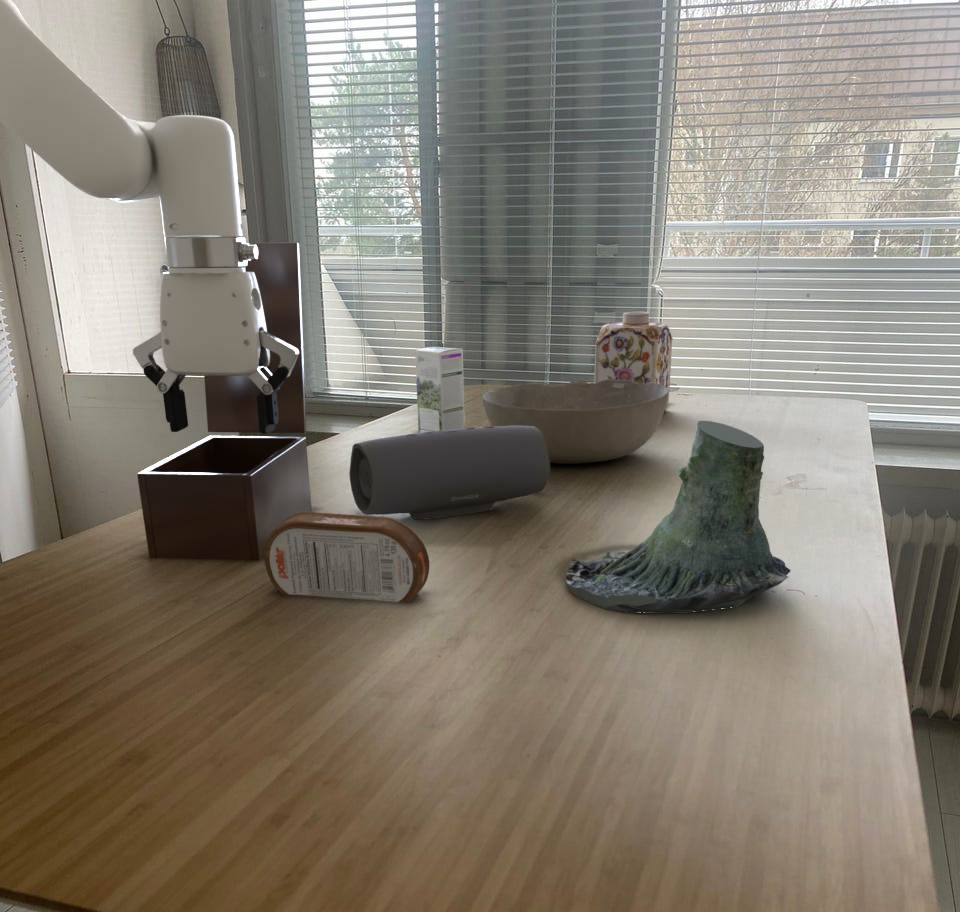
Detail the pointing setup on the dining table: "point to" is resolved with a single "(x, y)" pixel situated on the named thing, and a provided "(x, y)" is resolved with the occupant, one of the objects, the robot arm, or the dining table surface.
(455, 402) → the syrup box
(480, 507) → the bluetooth speaker
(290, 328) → the lid
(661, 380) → the decorative jar
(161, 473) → the chest
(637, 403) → the bowl
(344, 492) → the dining table surface
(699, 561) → the tree stump
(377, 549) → the tin
